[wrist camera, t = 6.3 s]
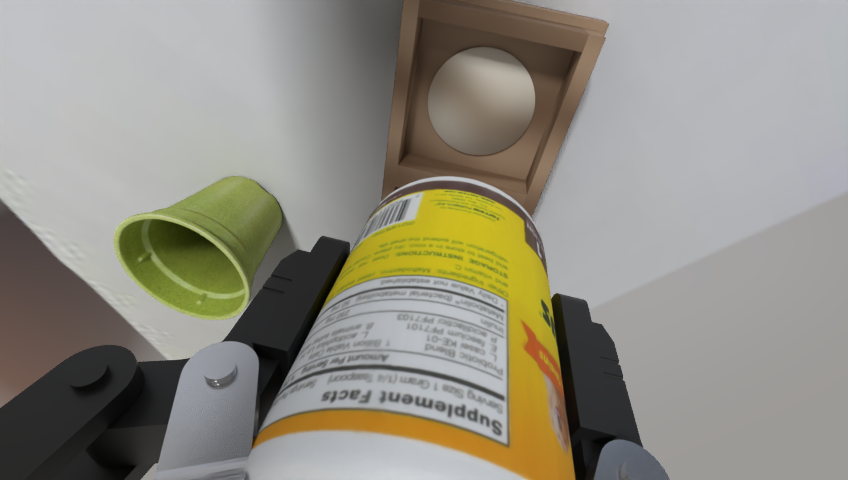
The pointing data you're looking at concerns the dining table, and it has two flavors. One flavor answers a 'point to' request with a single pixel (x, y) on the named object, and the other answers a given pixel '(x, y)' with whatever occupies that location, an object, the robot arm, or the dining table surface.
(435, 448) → the supplement bottle
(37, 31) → the dining table surface
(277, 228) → the plant pot
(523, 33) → the caddy
